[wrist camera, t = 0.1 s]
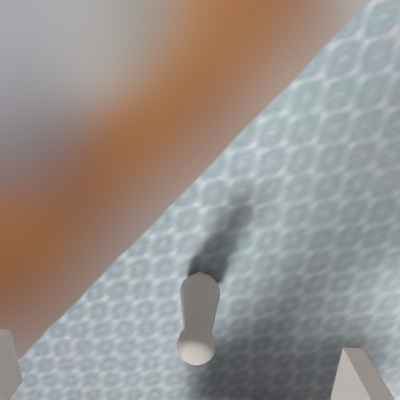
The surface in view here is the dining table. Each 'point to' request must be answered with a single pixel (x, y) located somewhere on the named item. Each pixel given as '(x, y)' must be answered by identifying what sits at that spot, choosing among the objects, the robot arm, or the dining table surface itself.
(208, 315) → the salt shaker
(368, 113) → the dining table surface
